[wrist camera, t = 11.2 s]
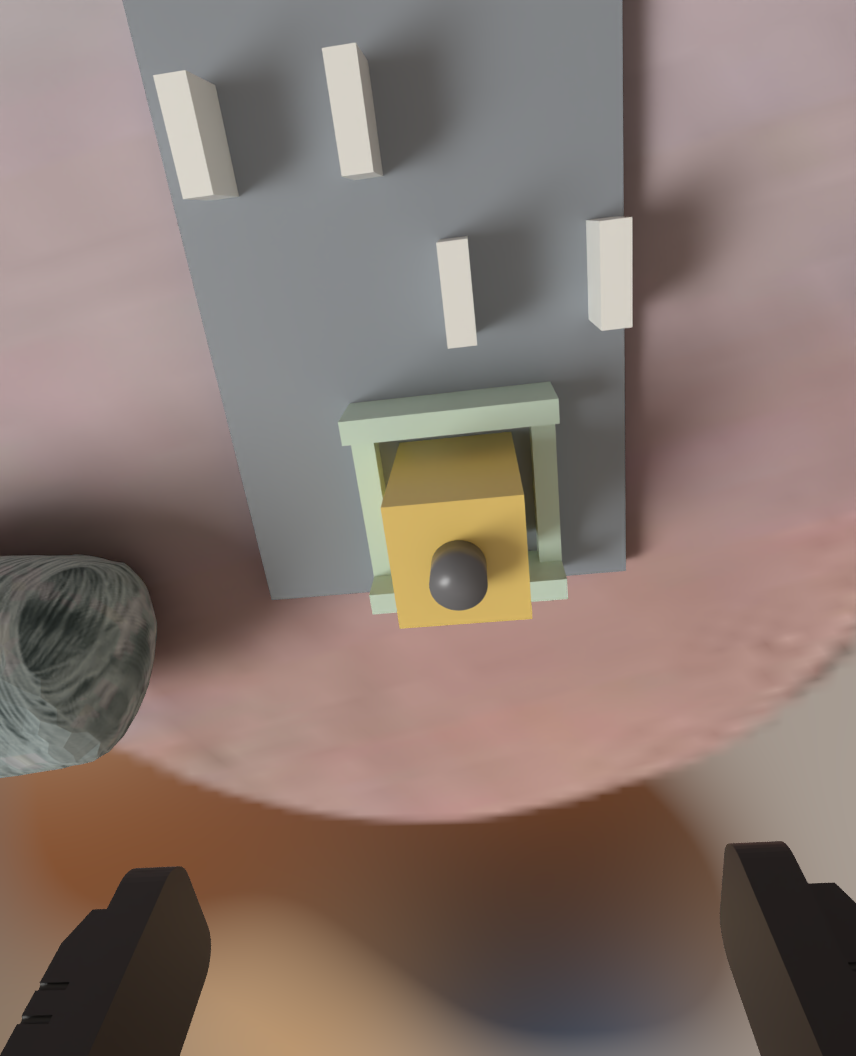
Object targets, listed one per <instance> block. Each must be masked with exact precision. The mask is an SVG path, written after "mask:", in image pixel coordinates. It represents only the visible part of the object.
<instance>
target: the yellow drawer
mask: <svg viewBox="0 0 856 1056" xmlns="http://www.w3.org/2000/svg"><path fill="white" fill-rule="evenodd" d="M381 514H382V520H383V527H384V533H385V539H386V545H387V552H388V558H389V564H390V570H391V577H392V583H393V589H394V595H395V602H396V608H397V614H398V621H399V627H400V629H401V628H415V627H428V626H442V625H455V624H469V623H483V622H496V621H510V620H523V619H532V607H531V591H530V576H529V561H528V546H527V531H526V516H525V501H524V492H523V487H522V482H521V477H520V472H519V467H518V462H517V458H516V453H515V448H514V443H513V438H512V433H511V432H502V433H492V434H482V435H472V436H462V437H452V438H442V439H432V440H422V441H412V442H402V443H399V446H398V449H397V453H396V456H395V460H394V463H393V467H392V470H391V473H390V477H389V480H388V484H387V487H386V491H385V494H384V497H383V501H382V504H381Z"/></svg>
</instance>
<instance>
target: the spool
mask: <svg viewBox="0 0 856 1056" xmlns="http://www.w3.org/2000/svg"><path fill="white" fill-rule="evenodd" d="M156 638H157V621H156V617H155V613H154V609H153V605H152V602H151V598H150V595H149V592H148V589H147V587H146V585H145V584H144V582H143V581H142V579H141V578H140V577H139V576H138V575H137V574H136V573H135V572H134V571H133V570H132V569H131V568H130V567H129V566H128V565H126V564H125V563H121V562H115V561H110V560H107V559H103V558H99V557H94V556H88V555H80V554H75V555H59V556H45V555H25V556H0V778H3V777H10V776H19V775H24V774H30V773H36V772H42V771H48V770H55V769H62V768H65V767H69V766H73V765H80V764H84V763H88V762H92V761H95V760H96V759H98V758H99V757H101V756H102V755H104V754H106V753H108V752H109V751H110V750H111V749H112V748H113V747H114V746H115V745H116V744H117V743H118V741H119V740H120V739H121V738H122V737H123V736H124V735H125V733H126V731H127V730H128V728H129V726H130V724H131V723H132V721H133V719H134V718H135V716H136V714H137V712H138V710H139V708H140V706H141V703H142V701H143V699H144V696H145V694H146V691H147V688H148V685H149V681H150V676H151V672H152V667H153V663H154V657H155V647H156Z"/></svg>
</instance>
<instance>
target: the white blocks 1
mask: <svg viewBox="0 0 856 1056" xmlns="http://www.w3.org/2000/svg"><path fill="white" fill-rule="evenodd" d="M322 53H323V60H324V66H325V72H326V79H327V85H328V92H329V98H330V104H331V111H332V117H333V124H334V130H335V137H336V143H337V149H338V156H339V162H340V169H341V175H342V177H345V178H349V179H352V180H360V179H367V178H374V177H381V176H383V171H382V164H381V156H380V149H379V141H378V134H377V126H376V119H375V111H374V104H373V96H372V89H371V81H370V74H369V66H368V61H367V59H366V57H365V56H364V54H363V53H362V51H361V50H360V48H359V47H358V45H357V44H356V43H349V44H343V45H337V46H331V47H325V48H322ZM153 78H154V82H155V86H156V90H157V94H158V98H159V102H160V106H161V111H162V115H163V119H164V123H165V127H166V131H167V135H168V139H169V144H170V148H171V152H172V156H173V160H174V164H175V168H176V172H177V176H178V181H179V185H180V189H181V193H182V197H183V199H189V200H211V201H212V200H219V199H226V198H233V197H239V194H238V190H237V185H236V180H235V176H234V171H233V166H232V161H231V157H230V152H229V147H228V143H227V138H226V133H225V129H224V124H223V119H222V114H221V110H220V105H219V100H218V96H217V91H216V86H215V85H214V84H212V83H210V82H208V81H206V80H204V79H202V78H200V77H198V76H196V75H194V74H192V73H190V72H188V71H186V70H182V71H176V72H170V73H164V74H158V75H153Z"/></svg>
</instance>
